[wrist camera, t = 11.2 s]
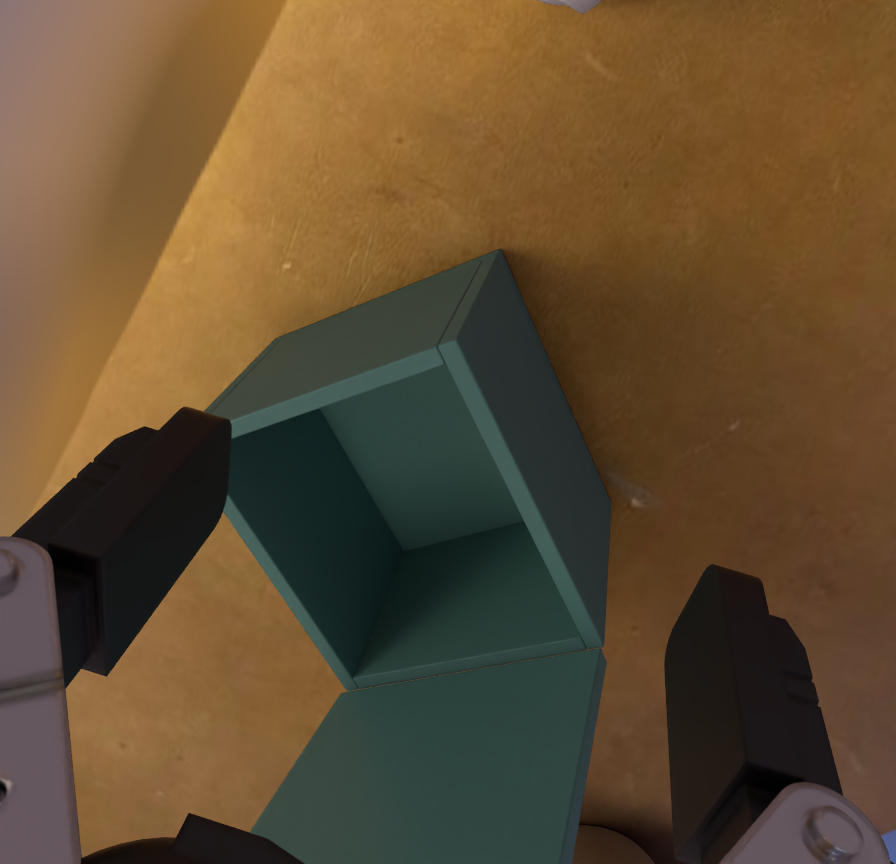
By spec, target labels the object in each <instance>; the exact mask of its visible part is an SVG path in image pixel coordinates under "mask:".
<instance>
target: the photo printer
mask: <svg viewBox="0 0 896 864" xmlns="http://www.w3.org/2000/svg"><path fill="white" fill-rule="evenodd" d="M538 1H541V2H544V3H547V4H551V5H568V6H569V7H571V8H572V9H574V10H576V11H577V12H579V13H582V14H584V13H586V12H587V11H589V10H590V9H592V8H593V7H595V6H596V5H598V4H599V3H600V2H601V1H602V0H538Z"/></svg>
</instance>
